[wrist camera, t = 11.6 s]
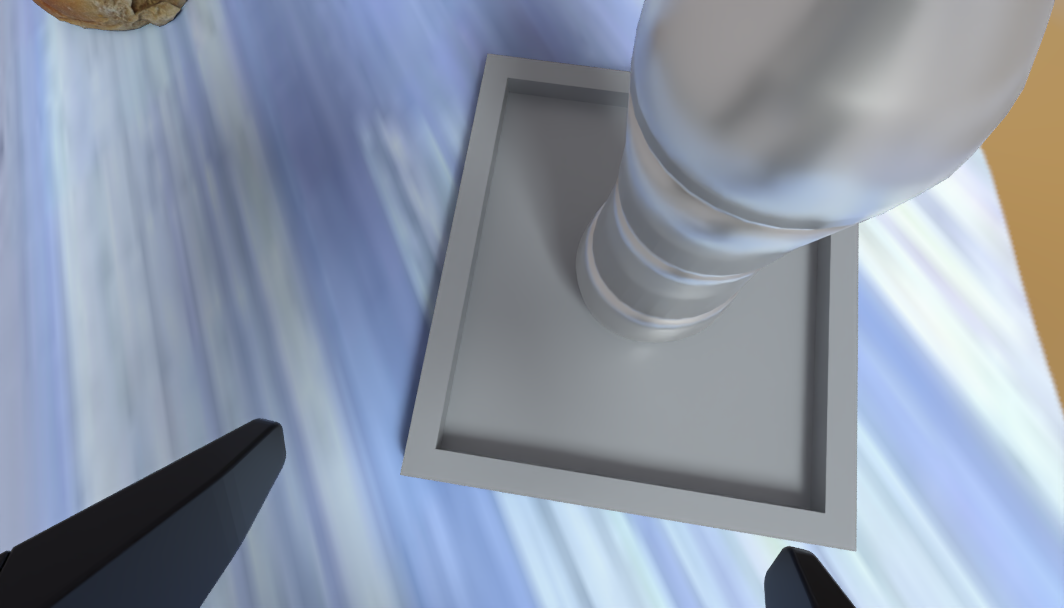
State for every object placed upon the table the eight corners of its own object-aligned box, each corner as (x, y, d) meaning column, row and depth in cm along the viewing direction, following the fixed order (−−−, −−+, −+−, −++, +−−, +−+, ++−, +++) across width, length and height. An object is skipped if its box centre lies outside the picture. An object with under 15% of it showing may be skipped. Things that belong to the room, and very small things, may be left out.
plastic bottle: (547, 250, 24) (598, -528, 4) (675, 194, 25) (1206, -703, 5) (610, 376, 22) (1079, 36, 3) (744, 313, 23) (1838, -301, 4)
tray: (832, 542, 21) (856, 551, 20) (409, 471, 22) (399, 474, 21) (840, 120, 26) (859, 101, 24) (490, 75, 27) (487, 53, 25)
